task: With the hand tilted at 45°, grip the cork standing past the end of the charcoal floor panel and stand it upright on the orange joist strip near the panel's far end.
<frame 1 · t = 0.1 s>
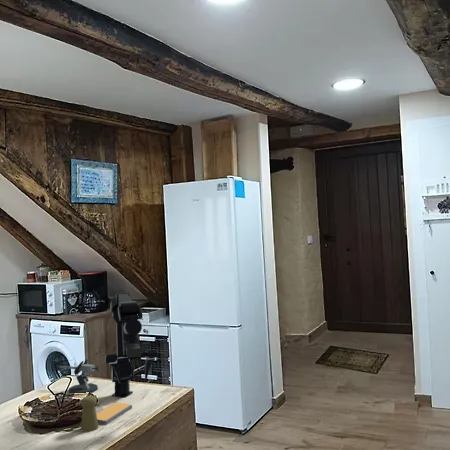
hand: (133, 381, 183), 15 cm above the table, tool pointing down, fingers open, 9 cm apart
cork: (89, 428, 181), on the table
gun turret: (77, 389, 225), on the table
floor panel: (110, 414, 194), on the table
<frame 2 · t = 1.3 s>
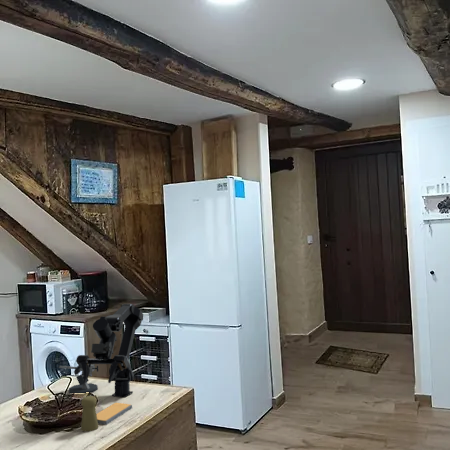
hand: (96, 382, 189), 14 cm above the table, tool tilted 45°, fingers open, 9 cm apart
nothing on the table moved.
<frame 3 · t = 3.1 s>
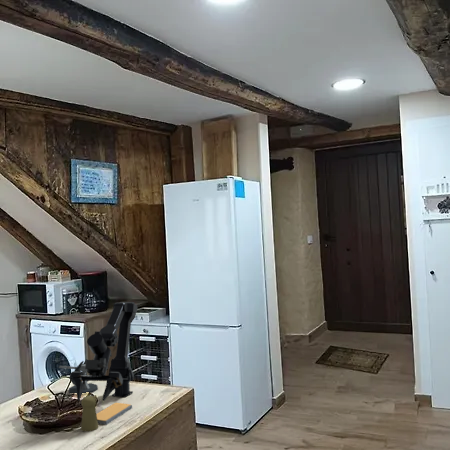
hand: (90, 400, 183), 9 cm above the table, tool tilted 45°, fingers open, 9 cm apart
nothing on the table moved.
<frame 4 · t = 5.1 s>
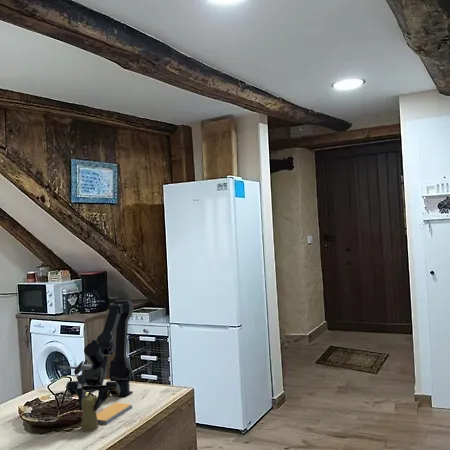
hand: (87, 410, 180), 7 cm above the table, tool tilted 45°, fingers closed on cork, 5 cm apart
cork: (89, 428, 181), on the table, touching gripper
everything else where it was.
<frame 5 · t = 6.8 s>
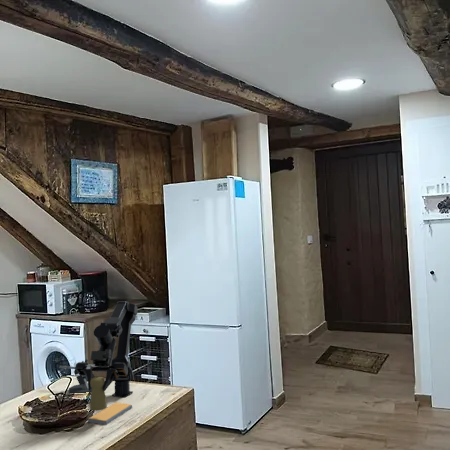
hand: (96, 390, 185), 12 cm above the table, tool tilted 45°, fingers closed on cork, 5 cm apart
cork: (98, 407, 187), point 5 cm above the table, touching gripper
everything else where it was.
when the fingers open (9 cm above the table, at t = 8.7 s): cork stays where it is, resting on floor panel.
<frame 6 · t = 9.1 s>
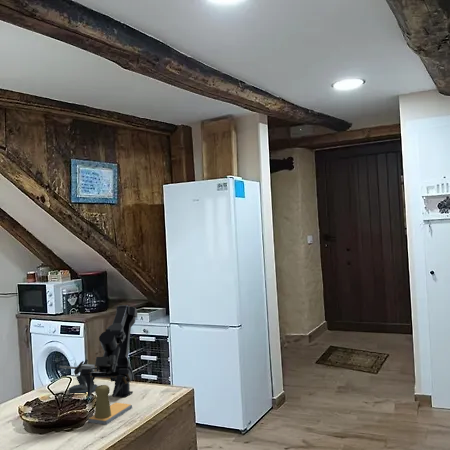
hand: (101, 396, 187), 9 cm above the table, tool tilted 45°, fingers open, 9 cm apart
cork: (103, 416, 189), point 1 cm above the table, touching floor panel
everything else where it was.
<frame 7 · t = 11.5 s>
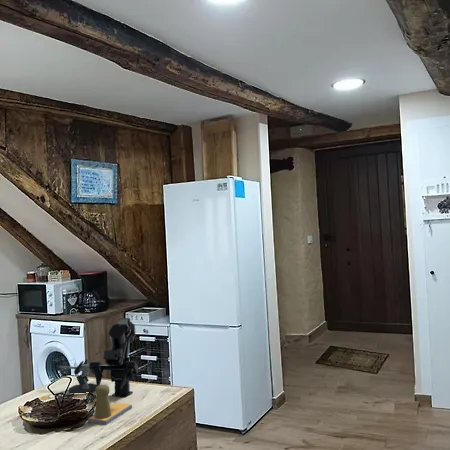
hand: (109, 388, 196), 9 cm above the table, tool tilted 45°, fingers open, 9 cm apart
nothing on the table moved.
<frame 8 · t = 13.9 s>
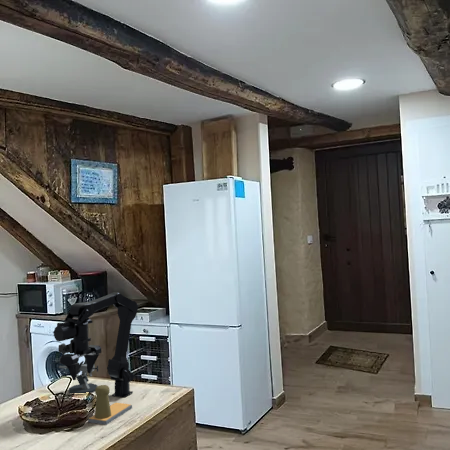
hand: (81, 376, 199), 13 cm above the table, tool pointing down, fingers open, 9 cm apart
nothing on the table moved.
at the end: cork inside the target area on the floor panel (0.1 cm from its centre), point 1.2 cm above the floor panel's base; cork tilted 0°; the gripper is holding nothing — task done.
